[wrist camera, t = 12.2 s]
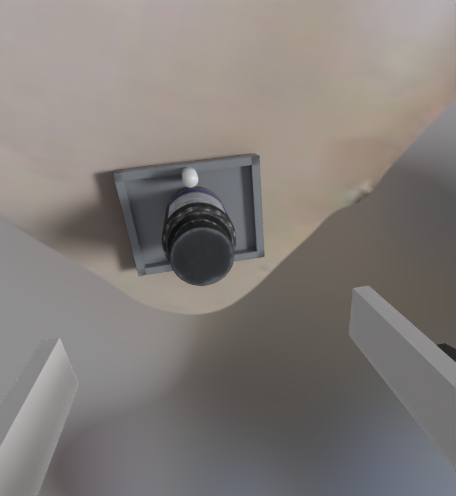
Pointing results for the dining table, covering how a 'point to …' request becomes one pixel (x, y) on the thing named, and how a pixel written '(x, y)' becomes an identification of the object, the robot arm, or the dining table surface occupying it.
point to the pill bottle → (198, 236)
